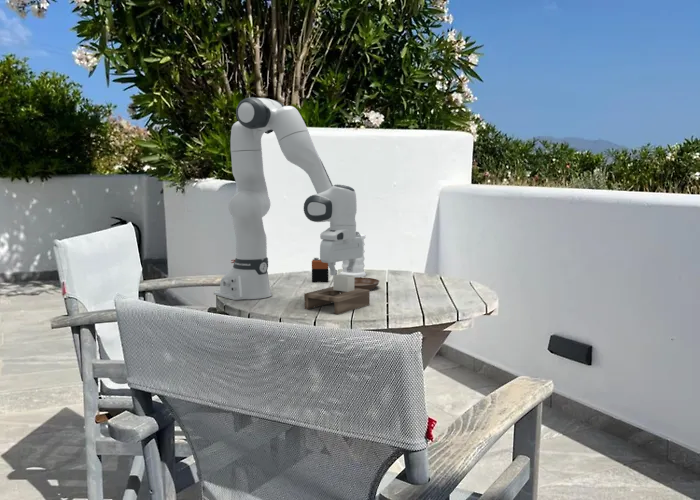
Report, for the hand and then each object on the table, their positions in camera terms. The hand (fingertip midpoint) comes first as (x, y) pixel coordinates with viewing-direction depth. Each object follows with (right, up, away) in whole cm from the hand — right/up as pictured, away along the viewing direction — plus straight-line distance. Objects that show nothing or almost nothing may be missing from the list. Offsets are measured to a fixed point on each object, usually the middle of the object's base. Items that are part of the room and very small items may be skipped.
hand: (341, 273), depth 210 cm
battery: (-10, -5, +48) cm, 50 cm away
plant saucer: (+6, -7, +34) cm, 35 cm away
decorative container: (+4, -4, +64) cm, 64 cm away
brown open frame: (-1, -11, -2) cm, 11 cm away
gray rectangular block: (+1, -9, +1) cm, 9 cm away
